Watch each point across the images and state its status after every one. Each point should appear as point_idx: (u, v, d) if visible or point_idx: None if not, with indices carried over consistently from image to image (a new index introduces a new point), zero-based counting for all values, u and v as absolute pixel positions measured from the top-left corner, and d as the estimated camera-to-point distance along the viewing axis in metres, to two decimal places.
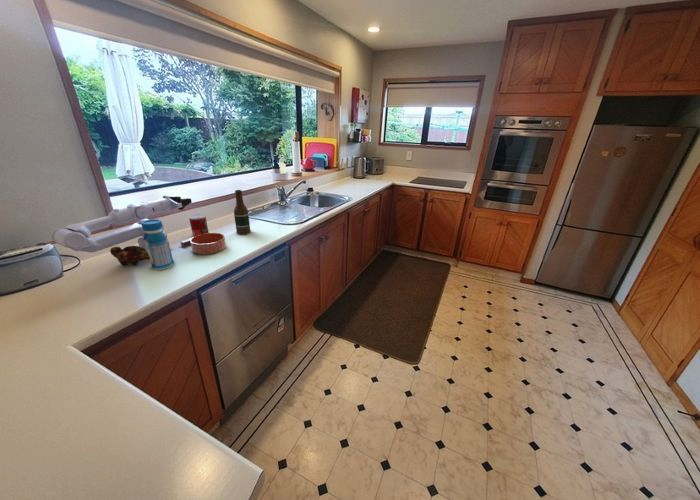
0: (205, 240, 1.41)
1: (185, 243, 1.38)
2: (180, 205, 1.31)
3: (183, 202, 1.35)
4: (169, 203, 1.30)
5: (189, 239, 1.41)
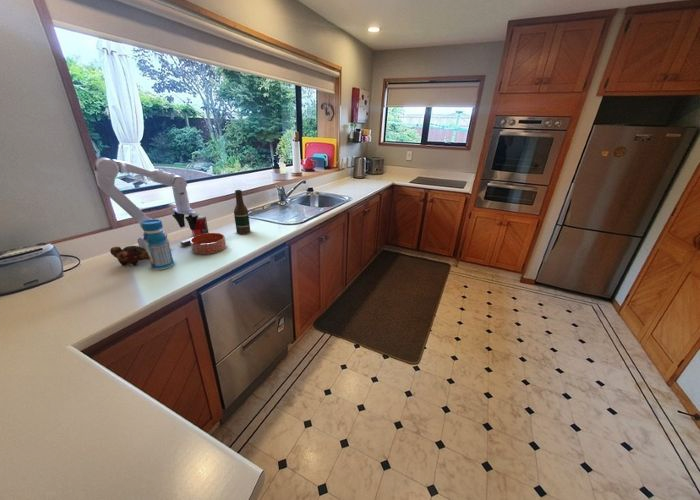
0: (205, 240, 1.41)
1: (185, 243, 1.38)
2: (194, 214, 1.33)
3: (192, 221, 1.36)
4: (188, 208, 1.34)
5: (189, 239, 1.41)
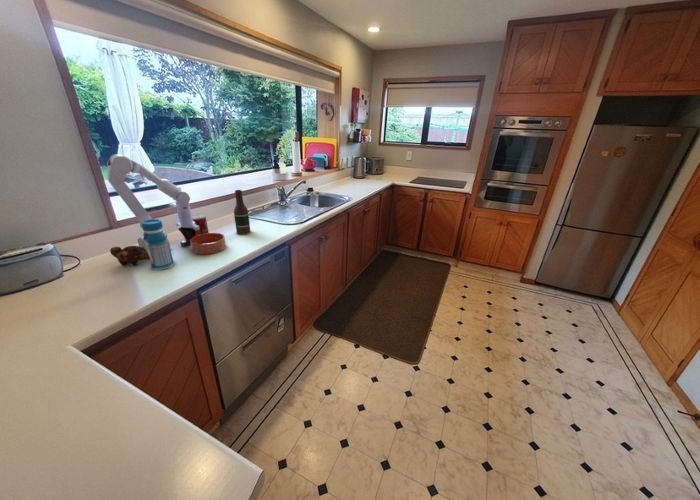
0: (205, 240, 1.41)
1: (185, 243, 1.38)
2: (197, 228, 1.36)
3: (191, 233, 1.39)
4: (191, 222, 1.37)
5: None
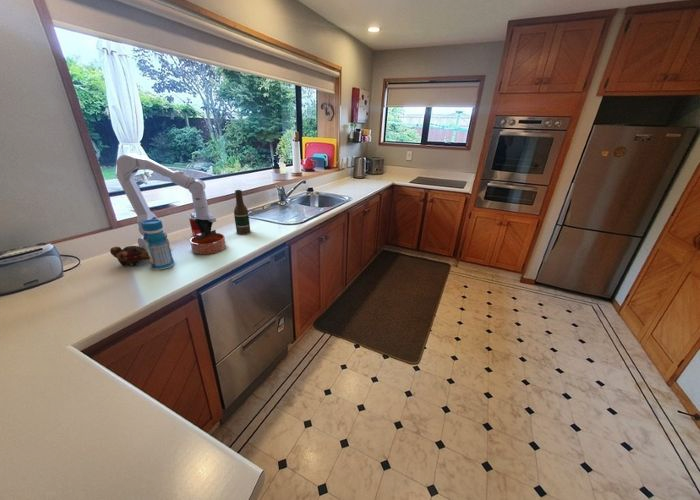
0: (205, 240, 1.41)
1: (201, 236, 1.31)
2: (214, 220, 1.29)
3: (207, 226, 1.32)
4: (207, 214, 1.30)
5: None
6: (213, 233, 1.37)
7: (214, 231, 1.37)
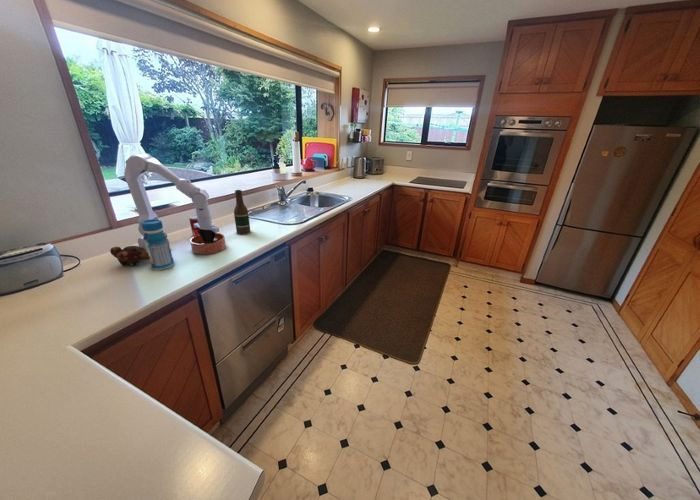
0: None
1: None
2: (217, 230, 1.30)
3: (210, 236, 1.33)
4: (210, 224, 1.31)
5: None
6: None
7: (217, 240, 1.38)
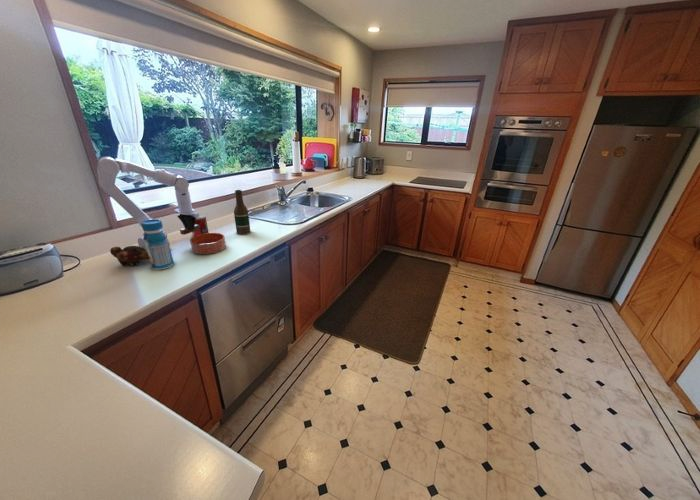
0: (205, 240, 1.41)
1: (184, 231, 1.35)
2: (197, 215, 1.32)
3: (191, 221, 1.36)
4: (190, 209, 1.34)
5: (188, 227, 1.38)
6: (197, 228, 1.41)
7: (198, 226, 1.41)
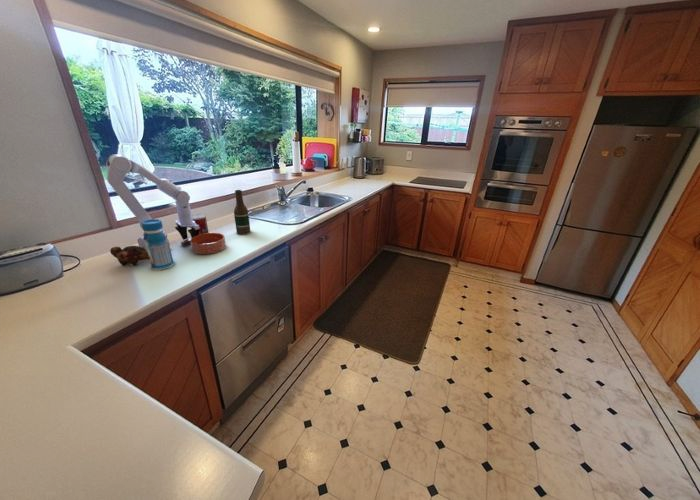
0: (205, 240, 1.41)
1: (185, 243, 1.38)
2: (197, 227, 1.36)
3: (194, 233, 1.38)
4: (191, 221, 1.37)
5: (189, 239, 1.41)
6: None
7: None
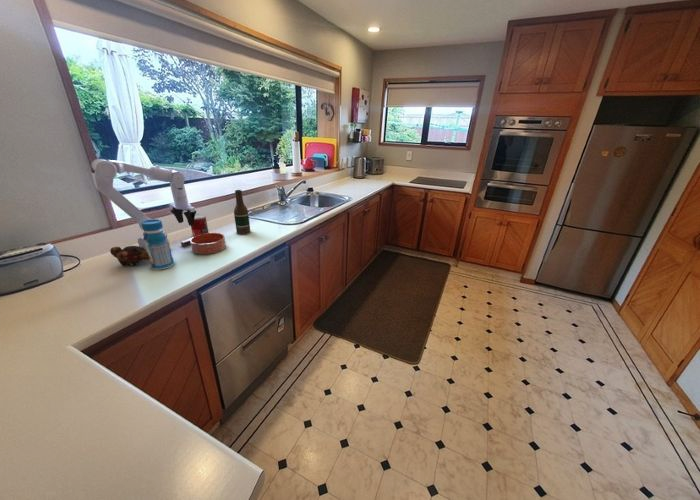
0: (205, 240, 1.41)
1: (185, 243, 1.38)
2: (193, 210, 1.33)
3: (190, 216, 1.35)
4: (186, 204, 1.34)
5: (189, 239, 1.41)
6: None
7: None
